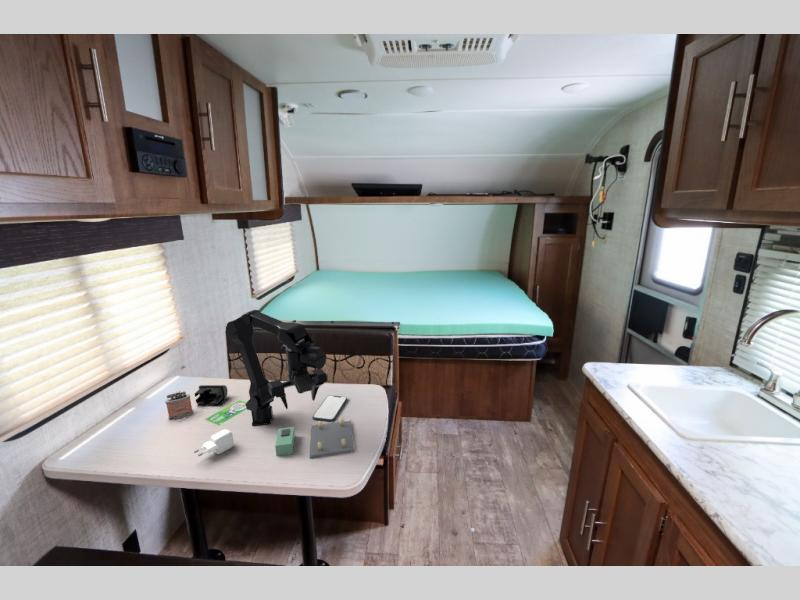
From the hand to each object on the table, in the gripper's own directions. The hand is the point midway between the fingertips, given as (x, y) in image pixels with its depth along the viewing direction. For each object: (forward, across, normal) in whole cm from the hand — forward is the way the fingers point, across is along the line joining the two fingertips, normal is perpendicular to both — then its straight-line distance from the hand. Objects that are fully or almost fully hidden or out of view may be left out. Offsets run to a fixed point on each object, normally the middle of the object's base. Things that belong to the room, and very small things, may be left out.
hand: (300, 404), depth 124 cm
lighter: (+13, -35, +38) cm, 53 cm away
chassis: (+12, +7, -8) cm, 16 cm away
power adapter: (+12, -27, +6) cm, 30 cm away
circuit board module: (+12, -7, -3) cm, 14 cm away
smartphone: (+12, +14, +9) cm, 21 cm away
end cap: (+13, -23, +42) cm, 49 cm away
